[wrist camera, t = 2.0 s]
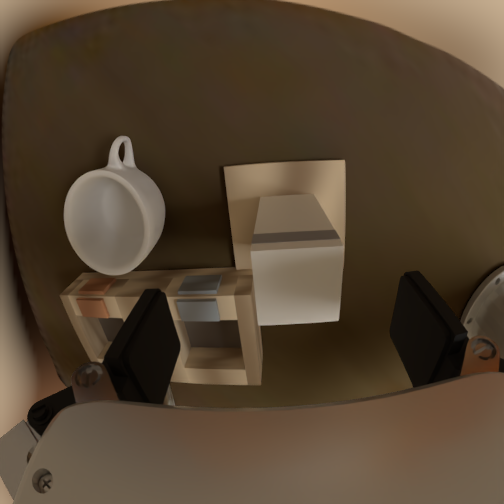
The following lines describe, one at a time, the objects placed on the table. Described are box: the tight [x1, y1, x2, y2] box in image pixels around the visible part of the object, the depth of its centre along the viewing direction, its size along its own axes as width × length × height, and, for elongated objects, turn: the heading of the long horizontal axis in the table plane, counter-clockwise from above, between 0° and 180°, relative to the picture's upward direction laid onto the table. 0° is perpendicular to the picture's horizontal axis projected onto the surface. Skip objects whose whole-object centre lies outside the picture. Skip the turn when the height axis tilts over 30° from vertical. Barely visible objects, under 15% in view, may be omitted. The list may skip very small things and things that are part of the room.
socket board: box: [60, 267, 263, 385], centre depth 25 cm, size 18×10×5 cm, turn 95°
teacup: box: [64, 136, 165, 275], centre depth 20 cm, size 10×8×5 cm
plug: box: [250, 194, 344, 326], centre depth 17 cm, size 4×4×10 cm
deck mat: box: [224, 160, 346, 270], centre depth 22 cm, size 9×9×1 cm
